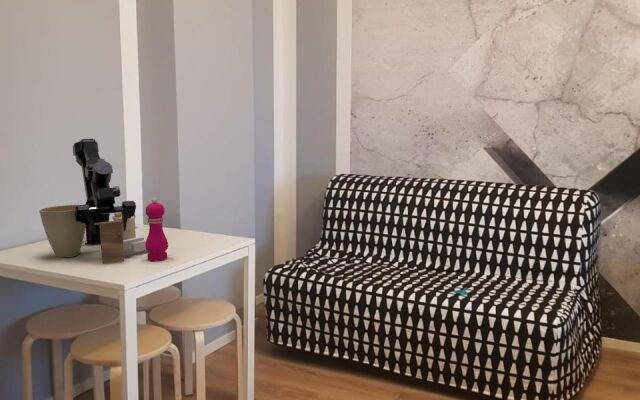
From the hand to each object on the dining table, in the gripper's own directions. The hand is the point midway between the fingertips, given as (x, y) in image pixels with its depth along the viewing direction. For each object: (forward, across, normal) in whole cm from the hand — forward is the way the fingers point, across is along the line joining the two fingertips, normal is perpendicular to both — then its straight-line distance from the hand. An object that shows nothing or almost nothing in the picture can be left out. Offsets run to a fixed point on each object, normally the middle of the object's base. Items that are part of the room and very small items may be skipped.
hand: (110, 231), depth 219 cm
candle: (-13, +11, +26) cm, 31 cm away
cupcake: (-31, +14, +44) cm, 55 cm away
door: (+8, 0, +5) cm, 10 cm away
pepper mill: (+10, +14, +3) cm, 17 cm away
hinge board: (+1, +10, +13) cm, 16 cm away
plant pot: (-4, -12, +18) cm, 22 cm away
